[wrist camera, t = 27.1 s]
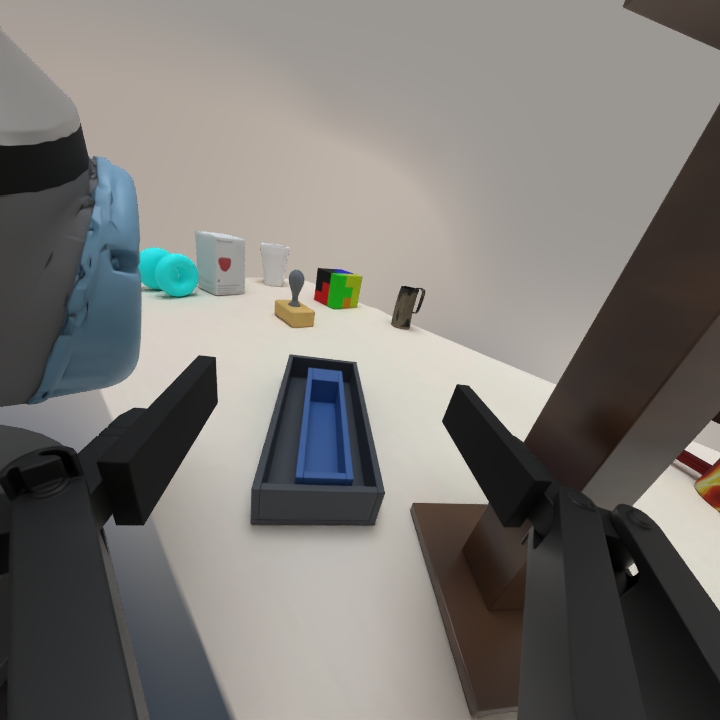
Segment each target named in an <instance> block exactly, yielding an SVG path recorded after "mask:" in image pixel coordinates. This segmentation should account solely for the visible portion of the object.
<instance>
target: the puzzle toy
mask: <svg viewBox="0 0 720 720" xmlns="http://www.w3.org/2000/svg"><path fill="white" fill-rule="evenodd" d="M361 281H362V277H361V276H359V275H356V274H353V273H350V272H347V271H344V270H339V269H322V268H318V271H317V280H316V289H315V297H314V300H316V301H318V302H320V303H322V304H324V305H326V306H328V307H331V308H333V309H342V308H355V307H357V304H358V298H359V293H360V287H361Z"/></svg>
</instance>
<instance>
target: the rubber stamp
mask: <svg viewBox="0 0 720 720" xmlns="http://www.w3.org/2000/svg"><path fill="white" fill-rule="evenodd" d="M289 284H290V288H291V291H292V300H276V301H275V314H276V315H277V316H279V317H280V318H281V319H283V320H284V321H285V322H287V323H288V324H289V325H290V326H292V327H293V328H298V327H311V326H313V325H314V316H315V312H314V311H313V310H311V309H310V308H308V307H307V306H305V305H303V304H302V303H300V302H298V295H299V293H300V291H301V289H302V287H303V284H304V276H303V273H302V272H301V271H299V270H294V271H292V272H291V273H290V275H289Z"/></svg>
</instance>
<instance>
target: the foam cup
mask: <svg viewBox="0 0 720 720" xmlns="http://www.w3.org/2000/svg"><path fill="white" fill-rule="evenodd" d="M260 250H261V256H262V267H263V277H264V284H266V285H270V286H282V285H283V281H284V275H285V270H286V265H287V260H288V255H289V248H288V247H285V246H281V245H275V244H269V243H260Z"/></svg>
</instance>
